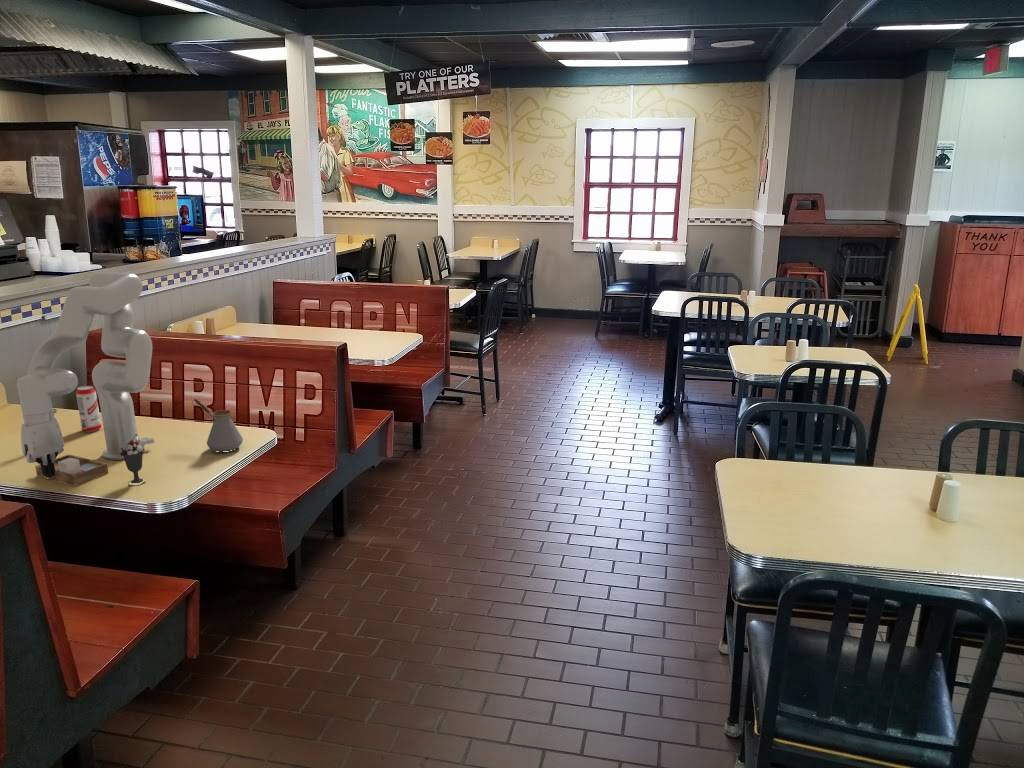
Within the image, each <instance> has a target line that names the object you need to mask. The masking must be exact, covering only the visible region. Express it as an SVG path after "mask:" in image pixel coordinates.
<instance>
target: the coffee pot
mask: <svg viewBox="0 0 1024 768" xmlns="http://www.w3.org/2000/svg"><path fill="white" fill-rule="evenodd" d="M194 401H195V403H194ZM191 404H192V405H196V404H197V405H199V407H200V408H201V409H202V410H203V411H204V412H206V413H207V414H208V415H210V417H212V419H213V422H212V425H211V428H210V431H209V435H208V438H207V441H206V445H207V447H208V449H210V450H211V451H213V452H214V451H219V452H223V451H230V450H234V449H236V448H237V449H238V448H239V447H240V446H241V445H242V443H243V442H244V441H243V440H244V439H243V436H242V435H241V433H240V431H239V430H238V428H237V426H236V425H235V423H234V422H233V421H234V420H233V419H232V417H231V415H232V414H233V411H232V410H231V409H222V410H221V409H220V410H216V411H213V412H212V411H210V410H209V408H207V406H206V405H205V404H203V403H201V401H199V399H198V398H194V399H193V400H192V401H191ZM237 449H236V450H237Z"/></svg>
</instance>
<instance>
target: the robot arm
mask: <svg viewBox="0 0 1024 768" xmlns="http://www.w3.org/2000/svg"><path fill="white" fill-rule="evenodd" d="M88 284H89V286H88V285H87V286H84V285H82V286H80V285H79V286H75V287H72V288H71V289H70V290H69V291H68V293H67V295H66V298H65V300H64V304H63V305H62V306H63V307H62V308H61V309H62V310H61V314H60V316H59V319H58V321H57V325H56V328H55V330H54V332H53V333H52V334H51V335H50V336H48V337H47V339H46V340H44V341H43V343H41V345H39V346H38V348H37V349H36V350H35V351H34V353H33V355H32V357H31V359H30V364H29V366H28V369H27V373H26V375H24V376H21V377H19V378H18V379H17V380H16V387H17V393H18V396H19V397H18V398H19V403H20V408H21V413H22V414H21V415H22V418H23V424H21V427H20V445H21V449H22V455H23V456H24V457H26V463H29V464H32V463H33V464H34V463H37V465H40V464H41V470H42V474H43V475H44V476H46V477H52V476H55V467H54V462H55V459H57V457H58V455H60V454H61V453H63V452H64V450H65V448H64V447H65V443H64V437H63V434H62V429H61V427H60V424H59V421H58V420H57V418H56V417H55V414H56V413H58V411H57V409H56V408H53V405H52V400H51V399H52V398H53V397H58V396H64V395H68V394H70V393H72V392H74V391H75V390H77V388H78V385H79V378H78V376H77V375H76V373H75V372H73V371H71V370H68V369H64V368H58V367H57V368H56V367H54V365H55V363H56V361H57V360H58V359H59V357H60V356H61V355H62V354H63V353H65V352H67V351H69V350H71V349H72V348H74V347H78V346H79V345H81V344H83V343H85V342H86V341H87V339H88V336H89V333H90V328H91V327H92V326H91V325H92V323H93V320H94V318H95V316H103V323H102V331H101V332H102V333H101V338H100V339H101V340H100V341H101V342H100V346H101V347H100V348H101V351H102V352H103V353H104V354H105V355H107V356H109V357H113V358H114V357H115V358H125V361H121V360H120V361H118V360H104V361H101V362H98V363H97V364H96V365H95V366H94V367H93V369H92V371H91V380H92V383H93V387H94V389H95V391H96V395H97V397H98V398H97V399H98V400H99V406H100V415H101V421H102V426H103V433H104V439H105V445H106V449H105V450H103V451H102V453H101V455H102V458H104V459H105V460H107V461H108V460H109V461H122V459H123V460H125V459H124V457H123V456H121V455H120V452H121V451H122V450H121V448H122V449H123V450H124V449H125V446H126V444H127V443H129V442H130V440H133V441H134V442H135V441H136V440H137V441H138V442H139V445H140V446H141V447H142V448H143V449H144V450H145V445H151V444H154V443H155V440H154V437H148V436H145V437H143V438H141V437H139V436H138V435H137V436H135V434H138V428H137V424H136V416H135V408H134V402H133V398H132V396H131V393H133V394H134V393H135V394H136V393H141V392H142V391H144V389H146V388H147V386H148V383H149V379H150V374H151V365H152V356H153V341H152V338H151V336H150V335H149V333H147V332H146V331H145V330H143V329H137V328H134V316H135V315H134V309H133V306H132V304H131V303H133V302H134V301H136V300H137V299H138V298H139V297H140V296H141V294H142V293H143V292H142V291H143V288H144V287H143V282H142V280H141V278H140V277H139V276H138V275H136V274H134V273H131V272H122V271H121V272H120V271H119V272H118V271H117V272H116V271H96V272H94V273H92V274H91V275H90V277H89V279H88ZM134 437H135V438H134ZM133 438H134V439H133ZM145 451H146V450H145Z"/></svg>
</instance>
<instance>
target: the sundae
mask: <svg viewBox="0 0 1024 768" xmlns="http://www.w3.org/2000/svg"><path fill="white" fill-rule="evenodd" d="M137 435H138V433H137V434H135V436H137ZM134 438H135V437H134ZM134 438H133V439H134ZM121 450H122V451H121V452H120V455H121V456H123V457H124V459H123V460H124V462H125V466H126V468H127V470H128V471H130V472H131V473H133V479H132V480H130V481H131V483H140V482H142V481H143V479H144V478H140V476H139V472H140V471H141V469H142V468H143V457H144V456H143V454H144V453H145V451H146V450H144V449H143V448H142V447H141V446H140V445H139V442H138V441H137V440H136V441H135V442H134V441H133V440H130V442H129V443H127V444H126V446H125V449H124V450H123V449H122V448H121Z"/></svg>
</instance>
